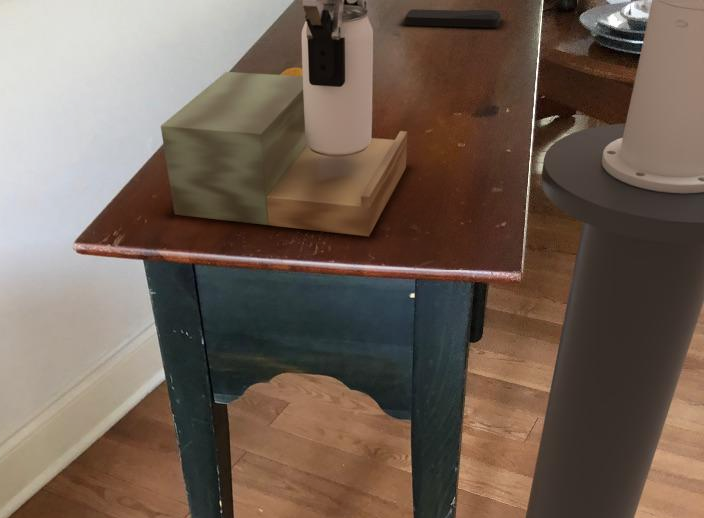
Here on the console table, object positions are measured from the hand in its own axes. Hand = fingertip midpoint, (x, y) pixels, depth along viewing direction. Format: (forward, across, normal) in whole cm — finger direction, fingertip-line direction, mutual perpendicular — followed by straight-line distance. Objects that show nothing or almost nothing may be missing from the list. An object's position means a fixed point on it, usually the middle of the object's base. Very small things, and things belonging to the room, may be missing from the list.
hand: (338, 70), depth 73 cm
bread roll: (+13, +26, +12) cm, 31 cm away
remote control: (+12, +65, 0) cm, 66 cm away
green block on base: (+12, 0, +5) cm, 13 cm away
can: (+7, 0, 0) cm, 7 cm away
